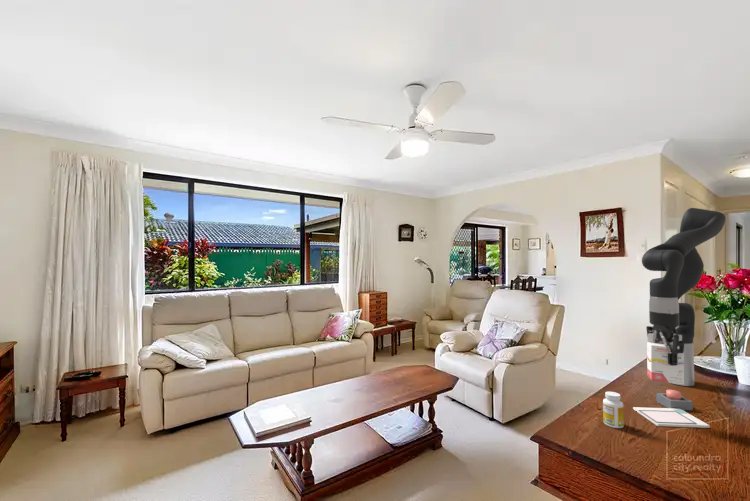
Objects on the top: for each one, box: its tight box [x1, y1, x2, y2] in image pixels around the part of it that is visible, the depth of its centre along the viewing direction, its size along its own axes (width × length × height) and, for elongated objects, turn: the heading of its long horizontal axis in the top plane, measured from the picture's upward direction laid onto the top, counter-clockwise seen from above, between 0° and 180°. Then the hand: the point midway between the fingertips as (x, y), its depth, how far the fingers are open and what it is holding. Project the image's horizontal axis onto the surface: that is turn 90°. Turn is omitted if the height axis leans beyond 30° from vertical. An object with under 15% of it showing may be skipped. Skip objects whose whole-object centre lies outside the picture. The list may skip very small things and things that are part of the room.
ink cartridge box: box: [646, 333, 684, 385], centre depth 113 cm, size 9×5×15 cm, turn 65°
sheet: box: [632, 406, 711, 429], centre depth 113 cm, size 12×15×1 cm
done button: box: [665, 388, 682, 400], centre depth 123 cm, size 4×4×3 cm
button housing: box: [655, 392, 694, 411], centre depth 123 cm, size 7×7×3 cm
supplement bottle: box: [602, 391, 625, 429], centre depth 110 cm, size 5×5×10 cm
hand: (665, 361), depth 113 cm, fingers closed on ink cartridge box, 6 cm apart
